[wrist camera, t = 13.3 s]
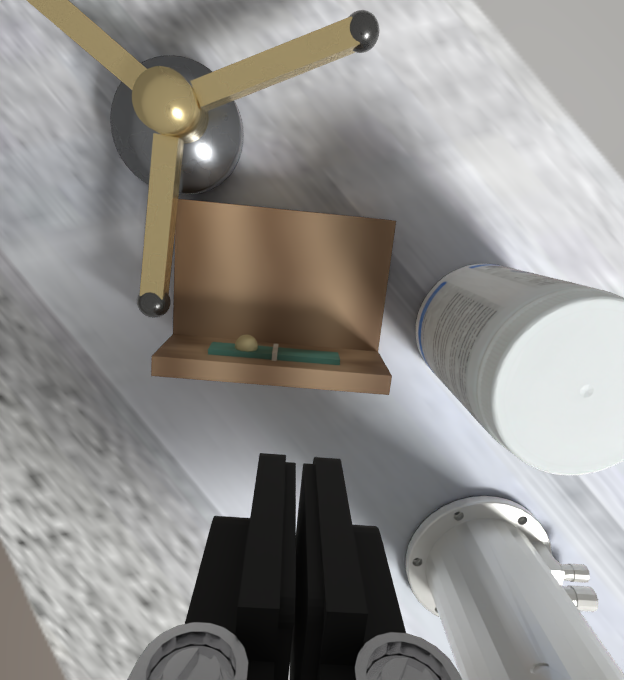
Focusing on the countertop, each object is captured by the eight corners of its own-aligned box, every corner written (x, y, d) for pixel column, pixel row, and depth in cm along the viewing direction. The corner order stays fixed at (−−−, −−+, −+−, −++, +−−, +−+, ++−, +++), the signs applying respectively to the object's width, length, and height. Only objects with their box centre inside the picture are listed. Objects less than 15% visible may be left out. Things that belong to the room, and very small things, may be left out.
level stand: (385, 219, 35) (414, 223, 26) (367, 351, 37) (389, 394, 29) (189, 199, 34) (153, 197, 25) (185, 336, 37) (151, 375, 28)
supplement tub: (452, 403, 39) (541, 515, 25) (388, 309, 37) (447, 373, 23) (558, 335, 38) (716, 413, 24) (499, 234, 35) (634, 252, 21)
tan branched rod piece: (129, -180, 28) (74, -309, 21) (371, 58, 32) (393, 15, 25) (-58, 127, 32) (-157, 104, 25) (177, 306, 36) (148, 331, 29)
